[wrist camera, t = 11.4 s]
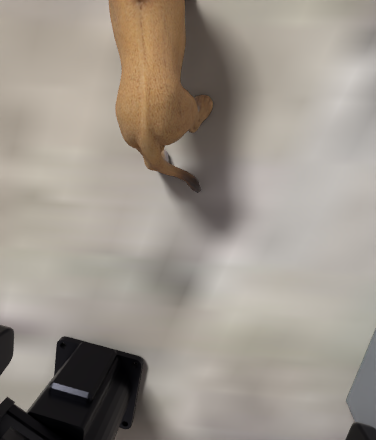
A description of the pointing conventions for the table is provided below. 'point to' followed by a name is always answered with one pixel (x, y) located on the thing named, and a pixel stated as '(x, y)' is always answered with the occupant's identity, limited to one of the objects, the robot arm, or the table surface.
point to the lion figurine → (154, 81)
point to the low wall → (365, 388)
